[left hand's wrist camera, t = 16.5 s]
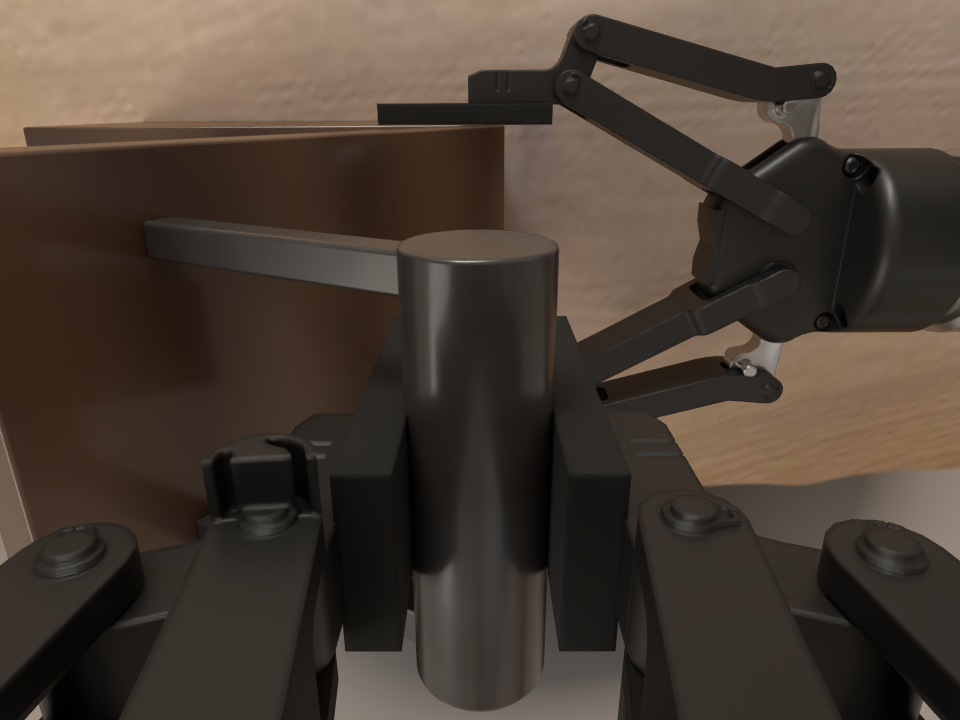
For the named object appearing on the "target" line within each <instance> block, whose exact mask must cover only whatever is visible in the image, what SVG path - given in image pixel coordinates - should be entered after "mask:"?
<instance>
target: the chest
mask: <svg viewBox="0 0 960 720" xmlns="http://www.w3.org/2000/svg"><path fill="white" fill-rule="evenodd" d="M465 125H488V124H392V125H378V121H278V122H134V123H111V124H88V125H65V126H42V127H25V128H24V134H25V138H26V143H27V147H30V146H51V145H71V144H92V143H113V142H134V141H154V140H175V139H196V138H216V137H237V136H258V135H279V134H299V133H320V132H341V131H362V130H382V129H403V128H424V127H445V126H465Z"/></svg>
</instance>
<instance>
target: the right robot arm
mask: <svg viewBox="0 0 960 720" xmlns="http://www.w3.org/2000/svg"><path fill="white" fill-rule="evenodd" d="M596 61H599V62H602V63H606V64H609V65H612V66H616V67H619V68H623V69H626V70H630V71H633V72H636V73H640V74H643V75H647V76H650V77H654V78H657V79H661V80H664V81H667V82H671V83H674V84H678V85H681V86H685V87H688V88H692V89H695V90H698V91H702V92H705V93H709V94H712V95H716V96H719V97H723V98H726V99H730V100H735V101H741V102H758V106H757V110H758V114H759V117H760V118H761V119H762V120H763V121H765V122H769V123H774V124H776V125H777V126H779V128H780V129H781V131H782V135H783V139H782V140H780V141H778V142H777V143H775V144H774V145H773V146H771V147H770V148H768V149H767V150H765V151H764V152H762V153H761V154H760V155H758V156H757V157H755V158H754V159H752V160H751V161H749V162H748V163H746V164H745V165H744V166H742V167H740V166H738V165H737V164H735V163H733V162H732V161H730V160H728V159H726V158H724V157H722V156H719V155H717V154H716V153H714V152H712V151H710V150H709V149H707V148H706V147H704V146H702V145H701V144H699V143H697V142H696V141H694V140H692V139H691V138H689V137H687V136H686V135H684V134H682V133H681V132H679V131H677V130H676V129H674V128H672V127H671V126H669V125H667V124H666V123H664V122H663V121H661V120H659V119H658V118H656V117H654V116H653V115H651V114H649V113H648V112H646V111H644V110H643V109H641V108H639V107H638V106H636V105H634V104H633V103H631V102H629V101H628V100H626V99H624V98H623V97H621V96H620V95H618V94H616V93H615V92H613V91H611V90H610V89H608V88H606V87H605V86H603V85H601V84H600V83H598V82H596V81H595V80H593V79H591V78H590V76H591V74H592V71H593V69H594V66H595V63H596ZM835 83H836V72H835V70H834V68H833V67H832V66H831V65H829V64H826V63H816V64H806V65H796V66H786V67H776V68H775V67H771V66H768V65H765V64H761V63H758V62H755V61H751V60H748V59H745V58H741V57H738V56H734V55H731V54H728V53H724V52H721V51H718V50H714V49H711V48H707V47H704V46H701V45H697V44H694V43H691V42H687V41H684V40H681V39H677V38H674V37H670V36H667V35H664V34H660V33H657V32H654V31H650V30H647V29H644V28H640V27H637V26H633V25H630V24H627V23H623V22H620V21H617V20H613V19H610V18H606V17H603V16H600V15H595V14H589V15H587V16H584V17H583V18H582V19H580V20H579V21H578V22H577V23H576V24H575V25H574V26H573V27H572V28H571V29H570V30H569V32H568V34H567V40H566V43H565V45H564V48H563V51H562V53H561V56H560V58H559V60H558V62H557V63H556V65H555V66H554V67H552V68H550V69H546V70H481V71H478V72H476V73H474V74H472V75H469V76H468V103H431V104H377V111H378V125H392V124H488V125H533V124H552V110H553V104H559V105H561V106H562V107H564V108H566V109H567V110H569V111H571V112H572V113H574V114H576V115H578V116H579V117H581V118H583V119H584V120H586V121H588V122H589V123H591V124H593V125H594V126H596V127H598V128H600V129H601V130H603V131H605V132H606V133H608V134H610V135H611V136H613V137H615V138H616V139H618V140H620V141H622V142H623V143H625V144H627V145H628V146H630V147H632V148H633V149H635V150H637V151H638V152H640V153H642V154H644V155H645V156H647V157H649V158H650V159H652V160H654V161H655V162H657V163H659V164H660V165H662V166H664V167H666V168H667V169H669V170H671V171H672V172H674V173H676V174H677V175H679V176H681V177H682V178H683V179H685V180H686V181H688V182H690V183H691V184H693V185H695V186H696V187H698V188H700V189H701V190H703V191H705V192H706V193H708V195H707V197H706V198H705V201H704V203H699V209H698V219H697V222H698V228H699V235H700V241H699V243H698V246H697V249H696V251H695V254H694V256H693V264H692V273H691V274H692V275H693V276H695V279H693V280H691V281H689V282H687V283H685V284H683V285H681V286H679V287H678V288H676V289H674V290H673V291H672V293H671V294H670V295H669V296H668V297H666V298H664V299H662V300H660V301H658V302H657V303H655V304H653V305H651V306H649V307H647V308H645V309H643V310H641V311H639V312H637V313H635V314H633V315H631V316H629V317H627V318H625V319H623V320H621V321H619V322H617V323H615V324H613V325H611V326H609V327H607V328H605V329H603V330H601V331H599V332H597V333H595V334H594V335H592V336H590V337H588V338H586V339H584V340H582V341H580V342H578V343H577V344H578V346H579V348H580V351H581V353H582V356H583V358H584V361H585V363H586V365H587V368H588V370H589V373H590V375H591V378H592V380H593V382H594V385H595V387H596V390H597V392H598V394H599V397H600V399H601V402H602V404H603V407H604V409H605V411H646V412H648V413H649V414H651V415H652V416H654V417H655V418H657V417H661V416H665V415H670V414H674V413H678V412H682V411H686V410H690V409H695V408H699V407H703V406H707V405H711V404H715V403H720V402H724V401H728V400H729V401H742V402H755V403H772V402H774V401H776V400H777V399H778V398H779V397H780V396H781V394H782V392H783V386H782V384H781V382H780V381H779V380H778V379H776V378H775V372H776V368H777V364H778V360H779V356H780V352H781V349H782V345H783V343H784V342H787V341H790V340H792V339H794V338H796V337H798V336H800V335H803V334H806V333H810V332H913V331H919V330H922V329H924V330H926V331H933V332H960V148H957V149H948V150H946V151H941V150H938V149H933V148H886V149H838V148H835V147H833V146H831V145H829V144H828V143H826V142H825V141H823V140H821V139H819V138H818V129H819V117H820V105H821V97H824V96H826V95H827V94H829V93H830V92H831V91H832V89H833V88H834V86H835ZM735 321H738V322H740V323H741V324H742V325H744V326H745V327H746V328H748V329H749V330H750V331H752V332H753V335H752V338H751V339H750V340H749V341H748V342H747V343H746V344H744V345H741V346H735V347H730V348H728V349H727V350H726V351H725V355H724V356H713V357H704V358H699V359H694V360H690V361H686V362H682V363H678V364H674V365H670V366H666V367H662V368H658V369H654V370H650V371H646V372H642V373H637V374H633V375H629V376H625V377H621V378H617V379H613V380H609V381H605V382H602V381H604V380H606V379H608V378H610V377H612V376H614V375H616V374H618V373H620V372H622V371H624V370H626V369H628V368H631V367H633V366H635V365H637V364H639V363H641V362H643V361H645V360H647V359H649V358H651V357H653V356H655V355H657V354H659V353H661V352H663V351H665V350H667V349H669V348H671V347H673V346H675V345H677V344H679V343H681V342H683V341H685V340H687V339H689V338H691V337H694V336H697V335H708V334H711V333H713V332H715V331H717V330H719V329H721V328H723V327H725V326H727V325H729V324H731V323H733V322H735ZM600 382H601V383H600Z"/></svg>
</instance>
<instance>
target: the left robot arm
mask: <svg viewBox="0 0 960 720" xmlns="http://www.w3.org/2000/svg"><path fill="white" fill-rule="evenodd" d="M201 466H202V472H203V478H204V484H205V490H206V496H207V502H208V508H209V514H210V520H211V522H210V525H209V527H208V529H207V531H206V533H205V535H204V537H203V539H200V540H197V541H193V542H189V543H185V544H181V545H176V546H171V547H166V548H161V549H156V550H151V551H145V552H139V547H138V542H137V538H136V535H135V534H134V533H133V532H132V531H131V530H130V529H129V528H128V527H127V526H123V525H119V524H115V523H111V522H105V523H84V524H77V526H74V525H72V526H69V527H65V528H62V529H59V530H58V531H56V532H54V533H51V534H49V535H46V536H44V537H41V538H39V539H37V540H36V541H34V542H32V543H31V544H29V545H28V546H26V547H24V548H23V549H21V550H20V551H18V552H17V553H16V554H14V555H13V556H12V557H11V558H9V559H8V560H7V561H6V562H4V563H3V564H2V565H1V566H0V720H25V719H26V718H27V716H28V715H29V714H30V713H31V712H32V711H33V710H34V709H35V708H36V706H37V705H38V704H39V707H40V710H41V713H42V717H41V718H40V719H39V720H334V714H335V706H336V697H337V688H338V671H337V661H336V646H337V642H338V638H339V635H340V631H341V628H342V624H343V631H344V642H345V651H402V645H403V638H404V631H405V624H406V617H407V610H408V603H409V596H410V589H411V582H412V576H413V569H414V568H413V546H412V524H411V502H410V480H409V458H408V436H407V415H406V413H405V410H404V396H403V377H402V357H401V337H400V317H399V316H395V317H394V319H393V322H392V324H391V326H390V329H389V331H388V334H387V336H386V338H385V341H384V343H383V346H382V348H381V351H380V353H379V355H378V358H377V360H376V363H375V365H374V367H373V370H372V372H371V375H370V377H369V380H368V382H367V384H366V387H365V389H364V392H363V394H362V396H361V399H360V401H359V404H358V406H357V409H356V411H355V413H315V414H313V415H312V416H310V417H309V418H307V419H306V420H304V421H303V422H302V423H300V424H299V425H297V426H296V427H295V428H294V430H293V431H292V433H291V434H286V433H264V434H257V435H249V436H245V437H242V438H239V439H235V440H232V441H229V442H226V443H225V444H223V445H221V446H219V447H217V448H215V449H213V450H211V451H210V452H209V453H208V454H207V455H206V456H205V457H204V458H203V459H202V460H201ZM547 570H548V577H549V584H550V591H551V598H552V605H553V612H554V619H555V626H556V633H557V639H558V646H559V651H615V649H616V638H617V627H618V621H619V625H620V629H621V633H622V636H623V640H624V643H625V650H624V660H623V670H622V681H621V691H620V701H619V711H618V720H925V719H924V718H923V717H922V716H921V715H920V714H919V712H920V709H921V706H922V703H923V701H924V702H925V703H926V704H927V705H928V706H929V707H930V708H931V710H932V711H933V712H934V713H935V714H936V715H937V716H938V717H939V718H940V719H941V720H960V561H959V560H958V559H957V558H955V557H954V556H953V555H952V554H950V553H949V552H948V551H947V550H945V549H944V548H942V547H941V546H939V545H938V544H936V543H934V542H933V541H931V540H930V539H928V538H926V537H925V536H923V535H921V534H918V533H916V532H913V531H911V530H908V529H906V528H904V527H902V526H900V525H897V524H893V523H889V522H888V523H885V521H879V520H858V519H851V520H847V521H842V522H838V523H835V524H834V525H832V526H831V527H830V528H829V529H828V530H827V531H826V532H825V537H824V541H823V546H822V550H820V549H815V548H810V547H805V546H800V545H795V544H789V543H784V542H779V541H775V540H771V539H768V538H764V537H761V536H758V535H756V534H755V532H754V530H753V528H752V526H751V523H750V521H749V520H748V519H747V517H746V516H745V515H744V514H743V512H742V511H741V510H740V509H739V508H737V507H736V506H734V505H733V504H731V503H730V502H728V501H726V500H725V499H723V498H720V497H717V496H714V495H712V494H709V493H706V492H705V490H704V488H703V487H702V485H701V483H700V482H699V480H698V478H697V477H696V475H695V473H694V471H693V470H692V468H691V466H690V465H689V463H688V461H687V459H686V458H685V456H683V453H682V451H681V449H680V448H679V446H678V444H677V443H675V439H674V437H673V436H672V434H671V432H670V431H669V429H668V427H667V425H666V424H664V423H663V422H661V421H660V420H658V419H657V418H655V417H654V416H652V415H651V414H649V413H648V412H646V411H605V409H604V407H603V404H602V402H601V399H600V397H599V394H598V392H597V390H596V387H595V385H594V382H593V380H592V378H591V375H590V373H589V370H588V368H587V365H586V363H585V361H584V358H583V356H582V353H581V351H580V348H579V346H578V344H577V341H576V339H575V336H574V334H573V332H572V329H571V327H570V324H569V322H568V319H567V317H566V316H557V323H556V350H555V376H554V403H553V421H552V447H551V472H550V498H549V523H548V548H547Z"/></svg>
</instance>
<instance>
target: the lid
mask: <svg viewBox="0 0 960 720" xmlns="http://www.w3.org/2000/svg"><path fill="white" fill-rule="evenodd" d="M558 269H559V247H558V245H557V243H556V242H555V241H553V240H551V239H549V238H546V237H543V236H540V235H536V234H531V233H525V232H517V231H506V230H504V126H503V125H465V126H445V127H424V128H403V129H382V130H362V131H341V132H320V133H299V134H279V135H258V136H237V137H216V138H196V139H175V140H154V141H134V142H113V143H92V144H71V145H51V146H30V147H9V148H0V533H1V536H2V539H3V543H4V546H5V549H6V552H7V556H8V559H9V558H11V557H12V556H13V555H14V554H16V553H17V552H18V551H20V550H21V549H23V548H24V547H26V546H28V545H29V544H31V543H32V542H34V541H36V540H37V539H39V538H41V537H44V536H46V535H49V534H51V533H54V532H56V531H58V530H59V529H62V528H65V527H69V526H72V525H74V526H77V524H84V523H105V522H111V523H115V524H119V525H123V526H127V527H128V528H129V529H130V530H131V531H132V532H133V533H134V534H135V535H136V538H137V542H138V547H139V552H145V551H151V550H156V549H161V548H166V547H171V546H176V545H181V544H185V543H189V542H193V541H197V540H200V539H203V537H204V535H205V533H206V531H207V529H208V527H209V525H210V522H211V520H210V514H209V508H208V502H207V496H206V490H205V484H204V478H203V472H202V466H201V460H202V459H203V458H204V457H205V456H206V455H207V454H208V453H209V452H210V451H211V450H213V449H215V448H217V447H219V446H221V445H223V444H225V443H226V442H229V441H232V440H235V439H239V438H242V437H245V436H249V435H257V434H264V433H286V434H291V433H292V431H293V430H294V428H295V427H296V426H297V425H299V424H300V423H302V422H303V421H304V420H306V419H307V418H309V417H310V416H312V415H313V414H315V413H355V411H356V409H357V406H358V404H359V401H360V399H361V396H362V394H363V392H364V389H365V387H366V384H367V382H368V380H369V377H370V375H371V372H372V370H373V367H374V365H375V363H376V360H377V358H378V355H379V353H380V351H381V348H382V346H383V343H384V341H385V338H386V336H387V334H388V331H389V329H390V326H391V324H392V322H393V319H394V317H395V316H399V317H400V337H401V357H402V377H403V396H404V410H405V413H406V415H407V436H408V458H409V480H410V502H411V524H412V546H413V568H414V569H413V580H412V582H411V589H410V596H409V603H408V610H407V617H406V624H405V631H404V637H406V638H408V639H411V640H413V641H415V642H416V654H417V667H418V672H419V675H420V678H421V679H422V681H423V683H424V685H425V686H426V687H427V689H428V690H429V691H430V692H431V693H432V694H433V695H434V696H435V697H436V698H438V699H439V700H440V701H442V702H444V703H446V704H447V705H450V706H452V707H455V708H458V709H462V710H467V711H474V712H485V711H494V710H499V709H502V708H505V707H508V706H510V705H513V704H515V703H516V702H518V701H520V700H521V699H523V698H524V697H525V696H527V695H528V694H529V693H530V692H531V691H532V689H533V688H534V687H535V685H536V684H537V682H538V680H539V678H540V677H541V674H542V671H543V665H544V643H545V616H546V590H547V548H548V523H549V498H550V472H551V447H552V421H553V403H554V376H555V350H556V323H557V296H558Z"/></svg>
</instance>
